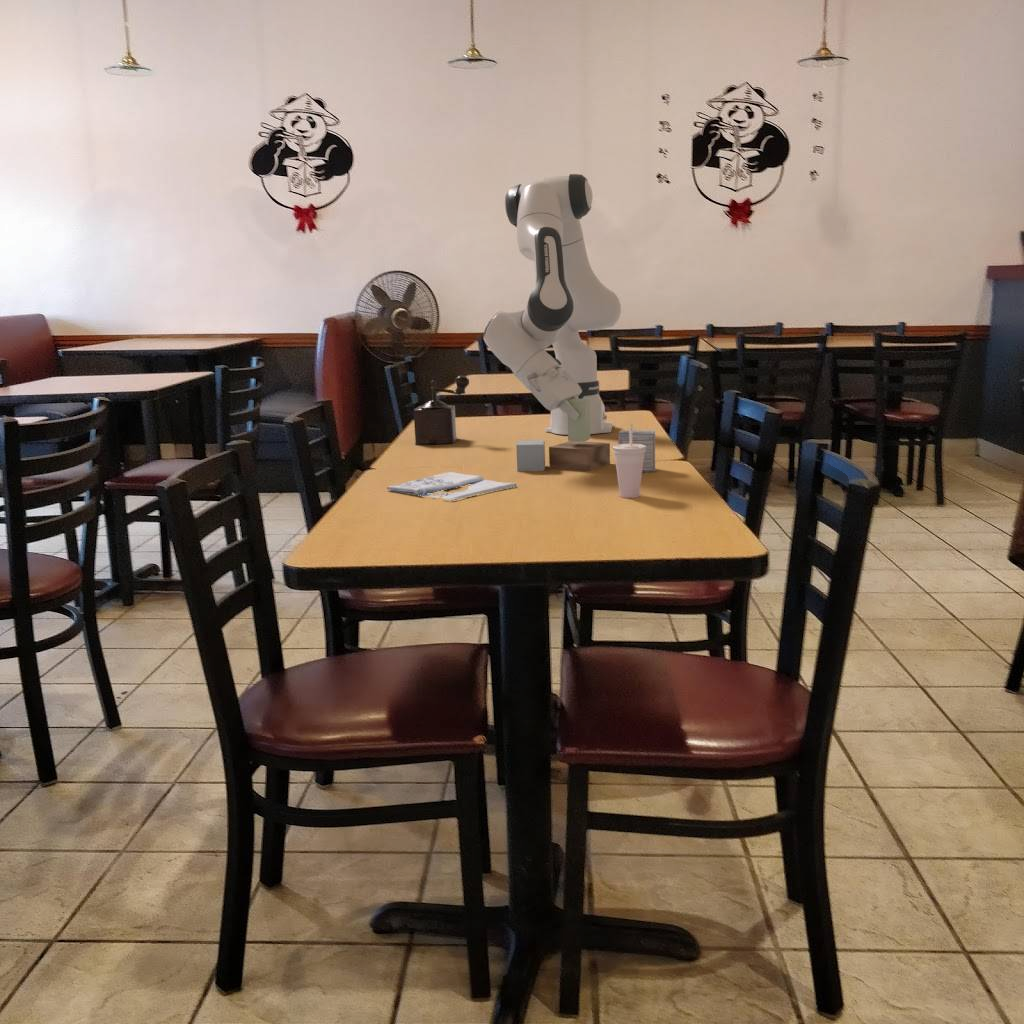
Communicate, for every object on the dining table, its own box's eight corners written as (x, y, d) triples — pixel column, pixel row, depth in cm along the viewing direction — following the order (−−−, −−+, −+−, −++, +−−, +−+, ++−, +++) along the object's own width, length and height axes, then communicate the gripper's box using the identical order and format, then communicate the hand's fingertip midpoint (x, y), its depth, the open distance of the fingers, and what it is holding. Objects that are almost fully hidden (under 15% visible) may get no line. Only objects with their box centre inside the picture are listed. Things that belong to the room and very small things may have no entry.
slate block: (519, 466, 219) (518, 440, 218) (545, 466, 219) (544, 440, 217) (517, 471, 213) (516, 445, 212) (544, 471, 213) (543, 444, 211)
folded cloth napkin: (454, 479, 210) (454, 469, 209) (519, 490, 196) (519, 479, 195) (385, 493, 197) (384, 483, 196) (449, 506, 183) (448, 495, 182)
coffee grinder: (413, 445, 255) (409, 377, 251) (420, 439, 266) (416, 374, 262) (471, 444, 254) (468, 376, 250) (475, 437, 265) (472, 372, 261)
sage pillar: (573, 437, 219) (572, 398, 217) (590, 438, 217) (589, 398, 215) (568, 440, 214) (567, 400, 212) (585, 441, 213) (584, 401, 211)
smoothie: (625, 500, 180) (624, 427, 176) (606, 495, 185) (605, 423, 182) (653, 496, 182) (653, 423, 179) (633, 491, 188) (633, 420, 185)
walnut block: (572, 461, 224) (572, 440, 223) (609, 464, 218) (609, 443, 217) (549, 468, 216) (548, 447, 215) (587, 472, 210) (587, 449, 209)
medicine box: (654, 468, 211) (654, 429, 209) (655, 472, 206) (655, 432, 204) (618, 469, 212) (618, 430, 210) (618, 472, 207) (618, 433, 205)
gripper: (534, 366, 205) (578, 411, 204) (560, 358, 223) (601, 400, 222) (515, 387, 207) (559, 432, 206) (542, 377, 226) (583, 419, 225)
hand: (581, 415), depth 214 cm, fingers closed on sage pillar, 4 cm apart
